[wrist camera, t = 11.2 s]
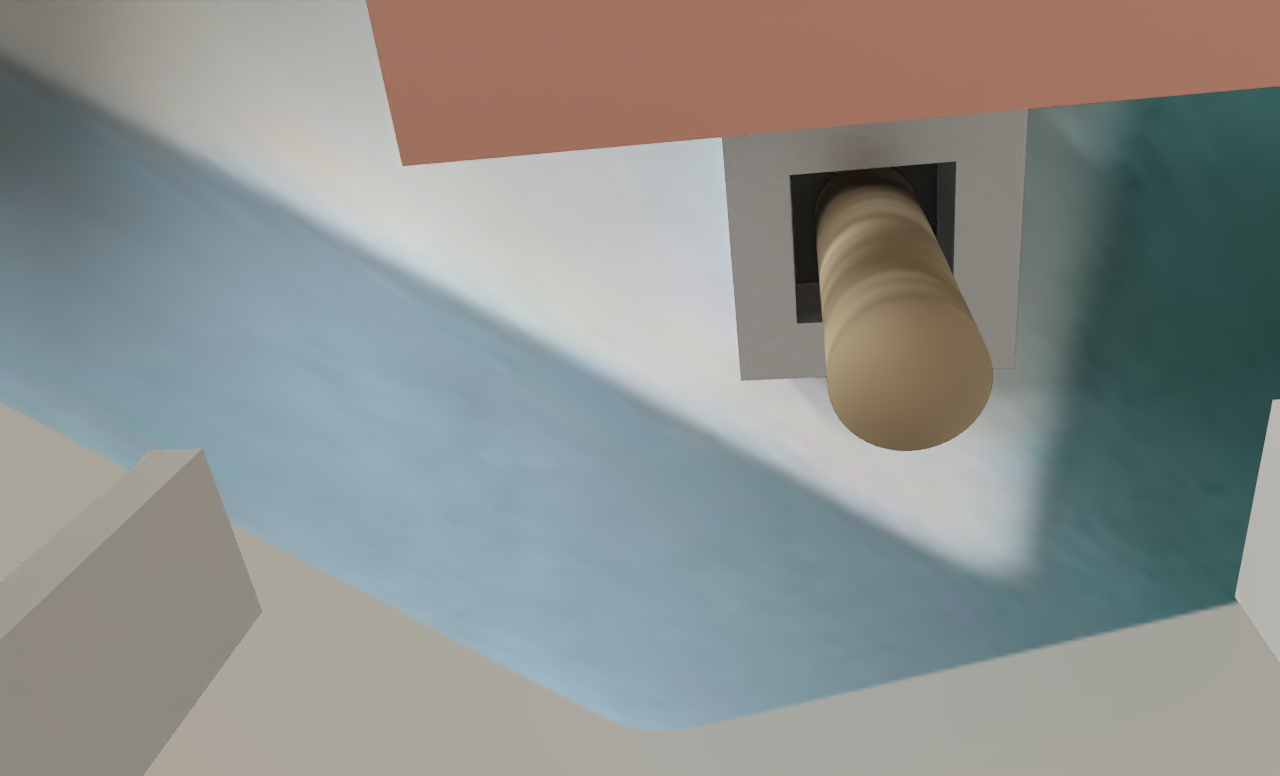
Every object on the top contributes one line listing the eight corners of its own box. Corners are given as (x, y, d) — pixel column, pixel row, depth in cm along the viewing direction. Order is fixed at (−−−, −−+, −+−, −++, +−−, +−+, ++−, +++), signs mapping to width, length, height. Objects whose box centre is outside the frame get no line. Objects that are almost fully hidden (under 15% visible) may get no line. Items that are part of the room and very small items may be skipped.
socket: (746, 336, 37) (741, 380, 33) (727, 95, 33) (720, 115, 29) (991, 323, 35) (1014, 368, 31) (1002, 68, 31) (1029, 86, 28)
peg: (815, 264, 35) (829, 452, 22) (813, 167, 33) (826, 309, 21) (916, 259, 34) (988, 449, 22) (918, 159, 33) (997, 302, 20)
